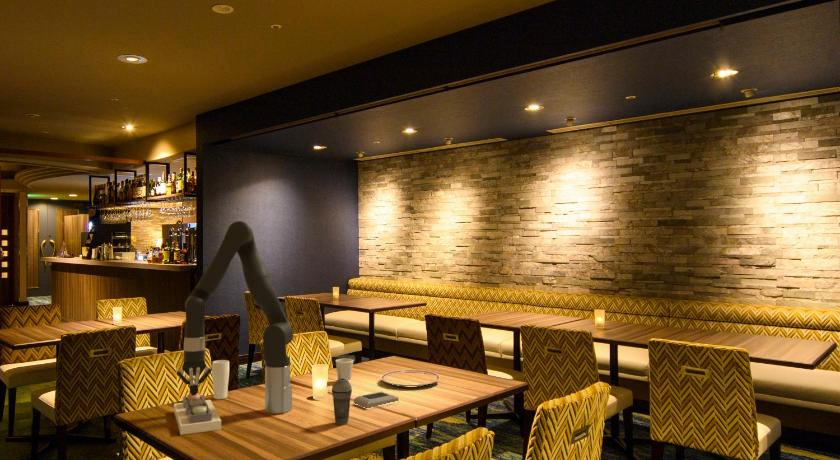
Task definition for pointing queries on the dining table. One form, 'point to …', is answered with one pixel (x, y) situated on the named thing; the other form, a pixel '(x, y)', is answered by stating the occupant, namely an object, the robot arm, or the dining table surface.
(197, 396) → the terracotta button
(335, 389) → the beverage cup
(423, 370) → the dinner plate
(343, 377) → the dixie cup
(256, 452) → the dining table surface
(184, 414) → the button console
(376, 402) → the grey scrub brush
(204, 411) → the sage button
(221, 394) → the white tumbler
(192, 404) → the slate button
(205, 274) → the robot arm
